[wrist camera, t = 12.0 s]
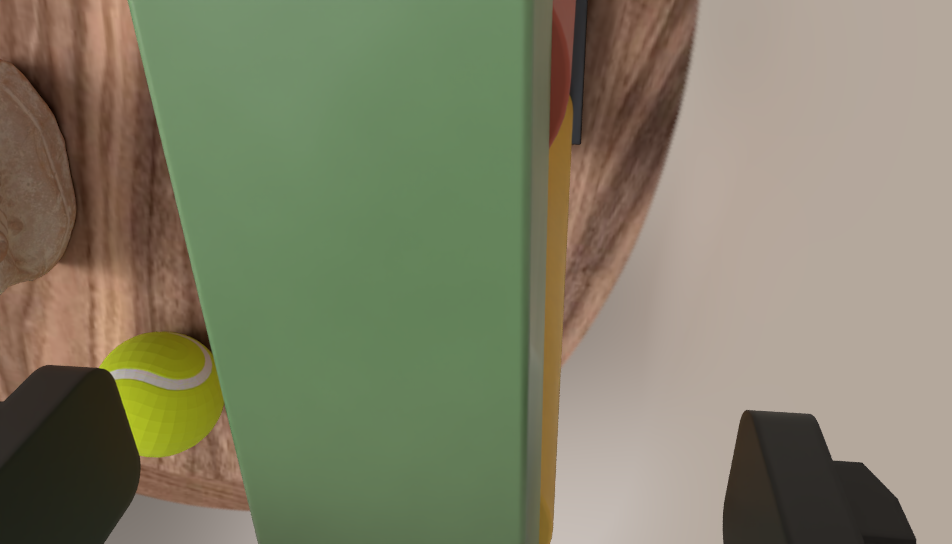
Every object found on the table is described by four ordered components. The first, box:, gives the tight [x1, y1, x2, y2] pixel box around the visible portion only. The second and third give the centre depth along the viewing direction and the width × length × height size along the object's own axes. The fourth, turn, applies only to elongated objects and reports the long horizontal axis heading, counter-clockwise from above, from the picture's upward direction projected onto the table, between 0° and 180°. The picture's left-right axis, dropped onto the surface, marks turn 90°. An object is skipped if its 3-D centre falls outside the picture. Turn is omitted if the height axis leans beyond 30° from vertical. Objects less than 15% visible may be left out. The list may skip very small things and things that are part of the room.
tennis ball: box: [99, 332, 224, 457], centre depth 41 cm, size 7×7×7 cm
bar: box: [128, 0, 553, 544], centre depth 10 cm, size 14×3×4 cm, turn 1°
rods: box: [539, 0, 588, 544], centre depth 22 cm, size 12×4×24 cm, turn 1°
